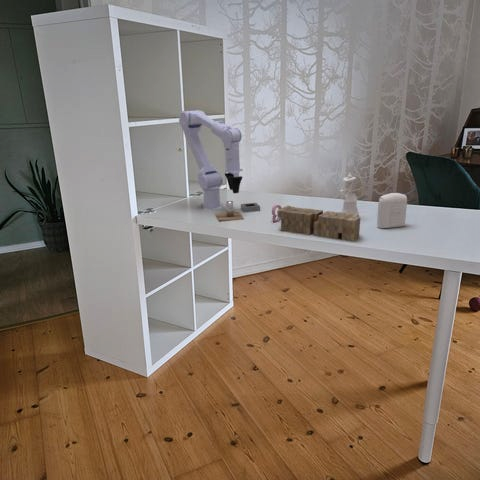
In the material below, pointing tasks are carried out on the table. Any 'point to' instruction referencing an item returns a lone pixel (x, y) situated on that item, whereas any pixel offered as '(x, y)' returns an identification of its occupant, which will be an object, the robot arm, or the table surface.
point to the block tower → (320, 223)
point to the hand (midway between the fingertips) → (234, 191)
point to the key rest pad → (224, 217)
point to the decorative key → (275, 214)
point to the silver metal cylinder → (229, 208)
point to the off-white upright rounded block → (392, 210)
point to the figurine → (349, 197)
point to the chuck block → (250, 207)
